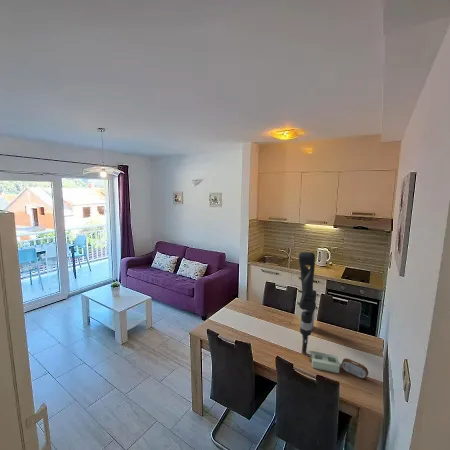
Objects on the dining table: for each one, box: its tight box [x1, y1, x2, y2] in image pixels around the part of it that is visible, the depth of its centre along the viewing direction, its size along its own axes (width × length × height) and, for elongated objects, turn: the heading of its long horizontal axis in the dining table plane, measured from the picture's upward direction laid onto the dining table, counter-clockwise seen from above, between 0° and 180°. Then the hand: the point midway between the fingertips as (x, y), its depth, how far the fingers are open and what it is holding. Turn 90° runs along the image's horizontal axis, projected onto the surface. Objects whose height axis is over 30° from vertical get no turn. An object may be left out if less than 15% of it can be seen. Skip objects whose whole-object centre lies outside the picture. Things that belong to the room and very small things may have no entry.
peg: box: [301, 343, 308, 356], centre depth 176 cm, size 3×3×10 cm
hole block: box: [311, 350, 340, 374], centre depth 165 cm, size 10×16×5 cm, turn 73°
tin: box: [341, 357, 369, 380], centre depth 157 cm, size 15×3×8 cm, turn 50°
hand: (304, 347), depth 176 cm, fingers open, 8 cm apart
